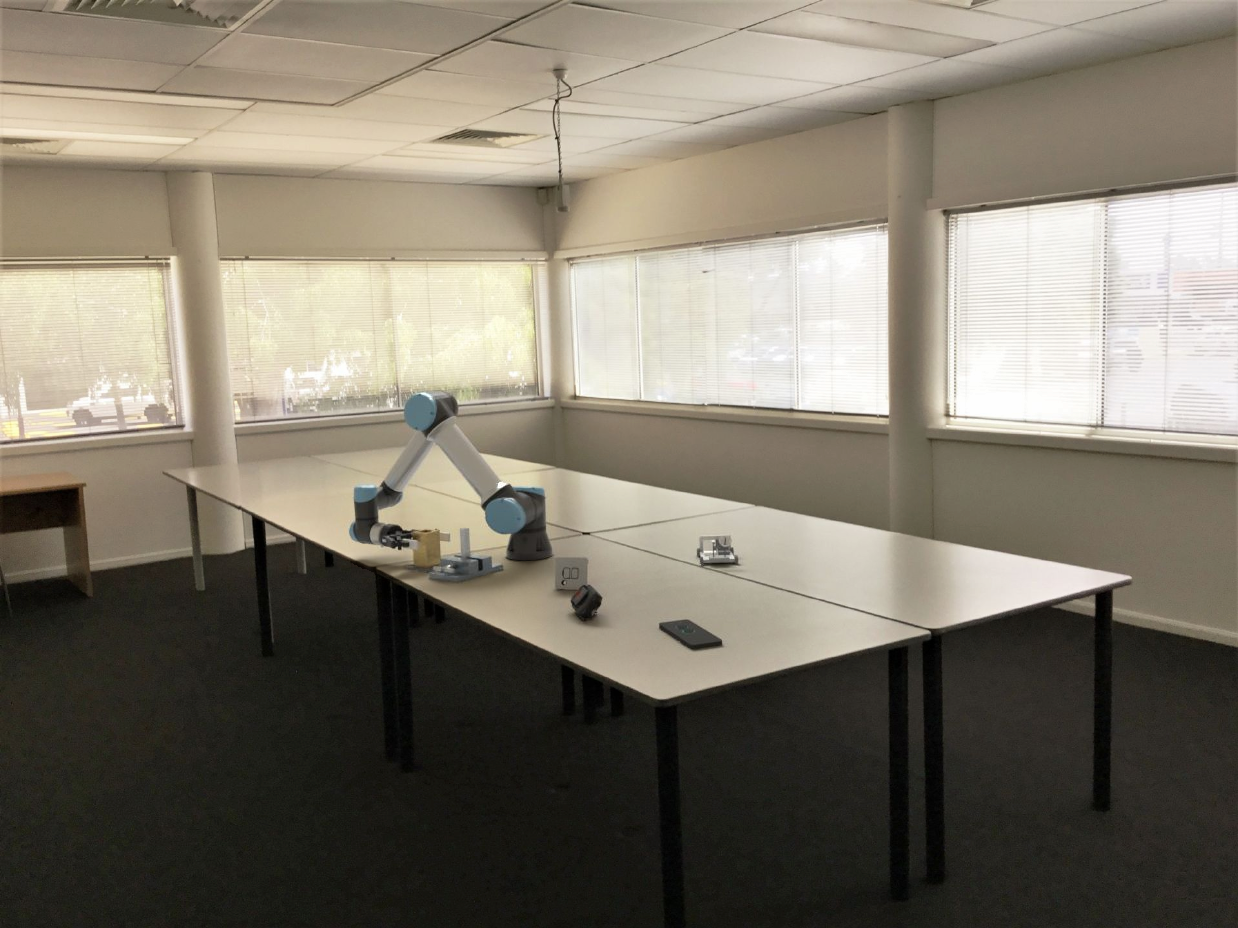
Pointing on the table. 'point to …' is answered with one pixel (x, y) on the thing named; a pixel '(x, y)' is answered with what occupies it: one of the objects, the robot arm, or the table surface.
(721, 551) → the grey toy rover
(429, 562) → the brass sleeve
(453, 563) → the vise
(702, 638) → the smart home device
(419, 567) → the rubber mat
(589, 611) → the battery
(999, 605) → the table surface
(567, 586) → the electrical switch
